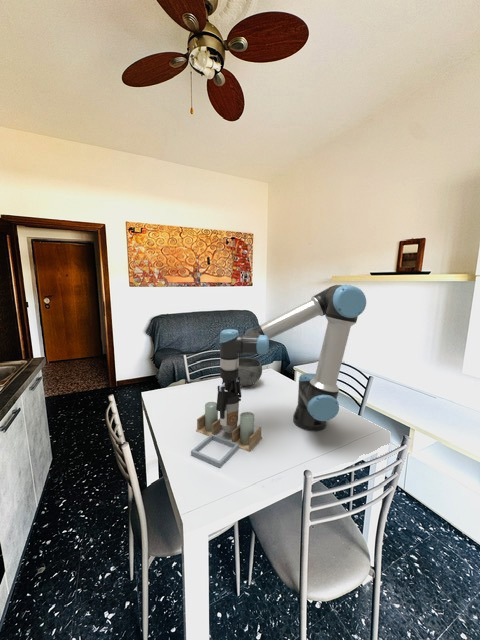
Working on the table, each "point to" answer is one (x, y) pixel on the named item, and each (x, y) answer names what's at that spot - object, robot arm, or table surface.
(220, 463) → the tray
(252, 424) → the jar
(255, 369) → the bowl
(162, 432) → the table surface
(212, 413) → the jar
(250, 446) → the caddy
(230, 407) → the coffee cup
